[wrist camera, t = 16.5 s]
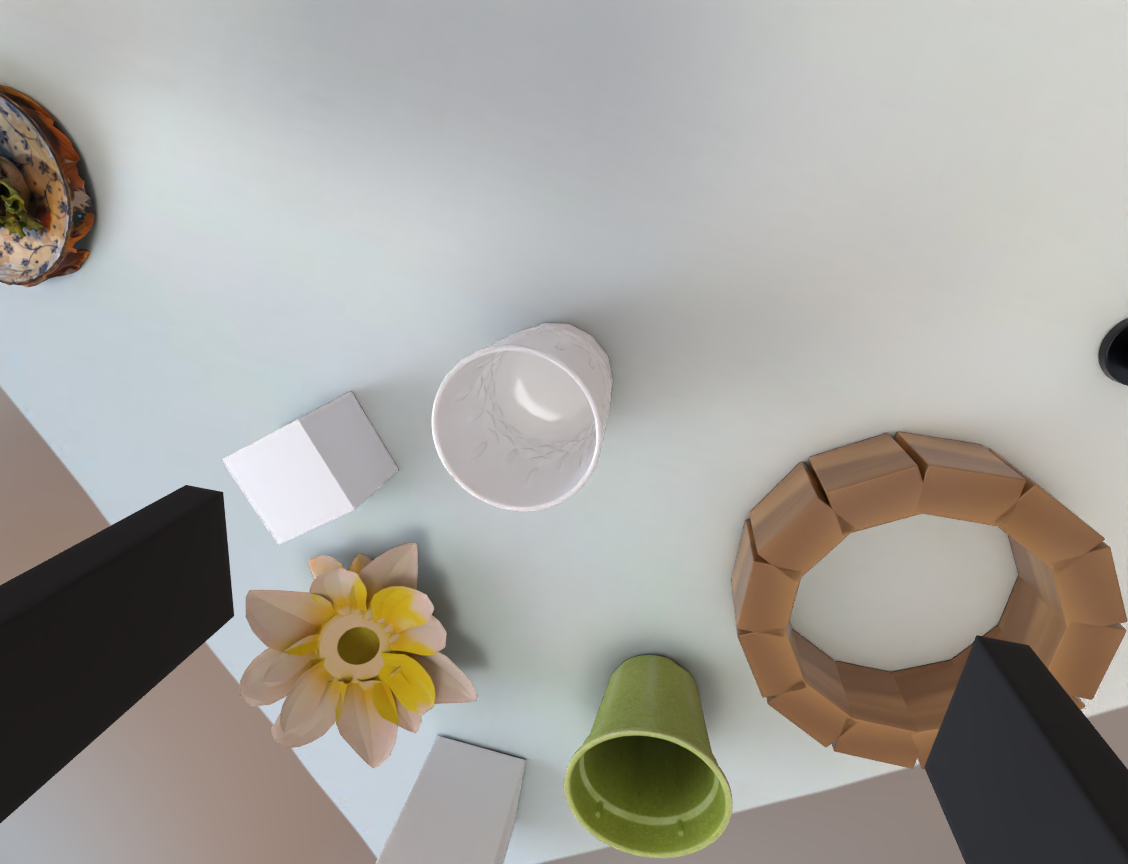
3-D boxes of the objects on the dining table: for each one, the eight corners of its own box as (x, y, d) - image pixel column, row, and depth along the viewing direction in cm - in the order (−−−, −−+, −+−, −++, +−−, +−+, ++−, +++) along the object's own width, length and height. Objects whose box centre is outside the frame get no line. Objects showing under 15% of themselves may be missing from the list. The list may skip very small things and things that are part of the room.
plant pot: (733, 741, 44) (744, 860, 36) (601, 747, 46) (583, 860, 38) (711, 626, 41) (717, 727, 33) (572, 639, 43) (546, 735, 35)
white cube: (351, 390, 40) (297, 418, 35) (399, 470, 42) (355, 509, 36) (282, 427, 42) (220, 459, 37) (330, 502, 43) (278, 545, 38)
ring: (769, 411, 36) (782, 441, 31) (1119, 465, 34) (1189, 505, 29) (710, 668, 42) (713, 725, 38) (1001, 729, 40) (1043, 798, 35)
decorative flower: (504, 723, 45) (416, 843, 36) (384, 707, 50) (282, 809, 41) (449, 527, 41) (339, 606, 33) (327, 532, 47) (205, 602, 38)
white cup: (646, 350, 36) (633, 397, 27) (586, 462, 39) (555, 539, 30) (524, 288, 36) (468, 313, 27) (473, 404, 39) (407, 463, 30)
